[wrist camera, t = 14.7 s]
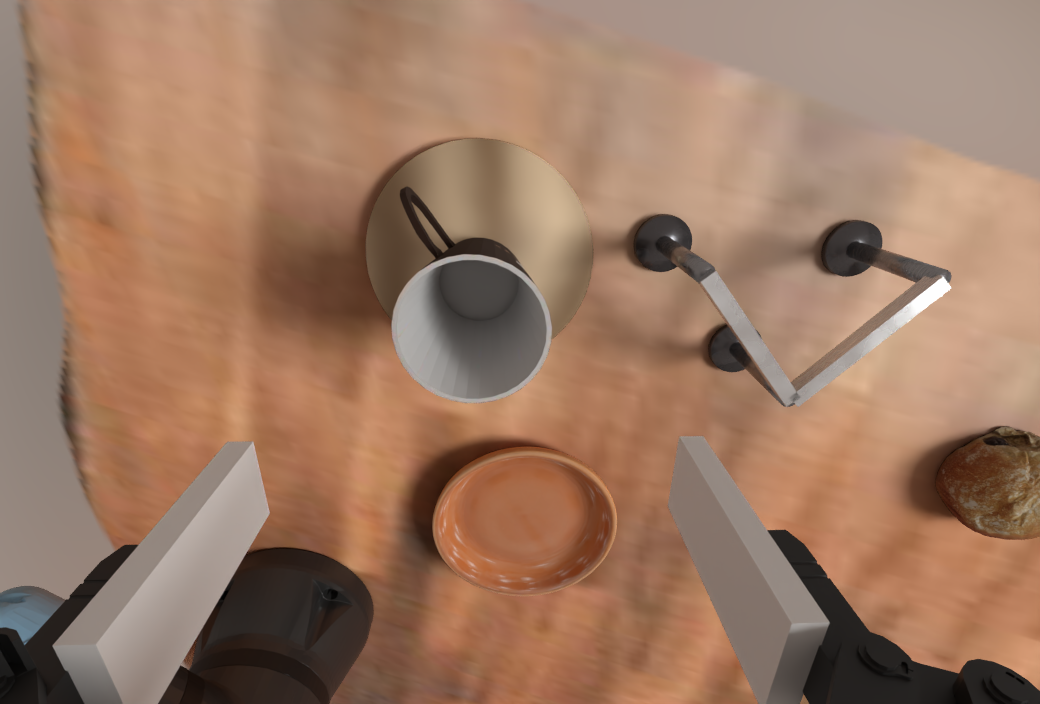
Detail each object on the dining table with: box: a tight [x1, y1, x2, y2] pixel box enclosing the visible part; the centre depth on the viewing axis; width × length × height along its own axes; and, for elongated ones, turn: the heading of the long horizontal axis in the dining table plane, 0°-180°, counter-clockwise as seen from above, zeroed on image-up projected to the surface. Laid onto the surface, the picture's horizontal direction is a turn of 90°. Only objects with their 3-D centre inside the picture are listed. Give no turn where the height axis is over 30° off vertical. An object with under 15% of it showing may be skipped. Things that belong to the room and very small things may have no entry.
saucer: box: [432, 447, 617, 596], centre depth 45 cm, size 16×16×3 cm
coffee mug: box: [391, 186, 552, 403], centre depth 31 cm, size 12×9×10 cm
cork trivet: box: [366, 138, 593, 339], centre depth 36 cm, size 16×16×1 cm
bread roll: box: [935, 427, 1040, 540], centre depth 44 cm, size 10×10×8 cm
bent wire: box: [634, 214, 951, 407], centre depth 35 cm, size 18×12×9 cm, turn 88°
